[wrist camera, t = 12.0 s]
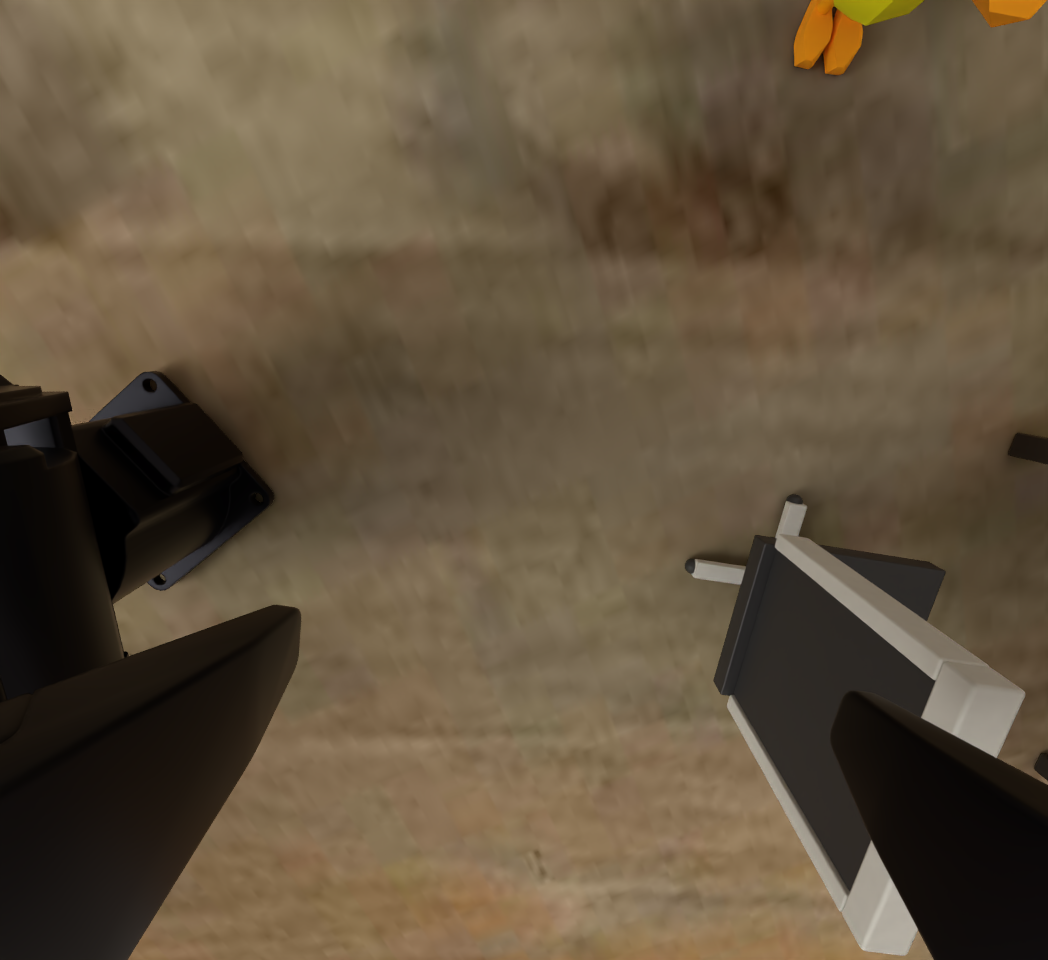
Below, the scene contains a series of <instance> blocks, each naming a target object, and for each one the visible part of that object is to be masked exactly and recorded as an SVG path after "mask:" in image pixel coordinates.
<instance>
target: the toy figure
mask: <svg viewBox="0 0 1048 960" xmlns="http://www.w3.org/2000/svg"><path fill="white" fill-rule="evenodd" d="M923 1H924V0H811V2H810V4H809V6H808V8H807V11H806V13H805V15H804V18H803V20H802V22H801V24H800V27H799V29H798V31H797V34H796V38H795V42H794V66H795V67H800V68H804V69H809V68H811V67H812V66H813V65H814V63H815V62H816V60H817V59H818V58H819V56H820V55H821V53H822V52H823V56H824V66H825V74H833V75H840V74H843V73H844V72H845V70H846V69H847V67H848V66H849V64H850V62H851V61H852V59H853V58H854V56H855V54H856V53H857V51H858V50H859V48H860V46H861V42H862V35H863V29H862V24H863V25H866V26H867V25H870V24H874V23H878V22H881V21H885V20H888V19H892V18H895V17H899V16H902V15H906V14H909V13H910V12H911V11H912V10H913V9H915V8H916V7H917V6H918V5H919V4H921V3H922V2H923ZM972 1H973V3H974V4H975V5H976V7H977V8H978V10H979V11H980V13H981V14H982V15H983V17H984V18H985V20H986V21H987V23H988V24H989V25H990V27H997V26H1001V25H1006V24H1010V23H1015V22H1019V21H1023V20H1028V19H1030V18H1031V17H1032V16H1033V15H1034V14H1035V13H1036V12H1037V11H1038V10H1039V8H1040V7H1041V6H1042V5H1043V4H1044V3H1045V2H1046V1H1047V0H972ZM833 7H836V8H837V11H836V13H835V16H834V19H833V21H832V8H833ZM823 50H824V51H823Z"/></svg>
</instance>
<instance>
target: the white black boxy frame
mask: <svg viewBox="0 0 1048 960" xmlns="http://www.w3.org/2000/svg"><path fill="white" fill-rule="evenodd" d="M806 509H807V506H806V505H804V504H803V500H802V498H801V497H800V496H799V495H796V494H792V495H790V496H788V497H787V499H786V503H785V507H784V510H783V513H782V517H781V520H780V523H779V527H778V530H777V533H776V537H775V538H773V537H766V536H760V535H755V537H754V541H753V544H752V548H751V551H750V555H749V558H748V562H747V565H746V566H739V565H733V564H726V563H720V562H713V561H706V560H700V559H689V560H687V561H686V563H685V569H686V570H687V571H688V572H689V573H691V574H692V576H693V577H694V578H698V579H705V580H712V581H718V582H725V583H731V584H738V585H741V586H740V590H739V593H738V596H737V600H736V603H735V607H734V610H733V614H732V617H731V621H730V624H729V628H728V631H727V635H726V638H725V642H724V645H723V649H722V652H721V656H720V659H719V663H718V666H717V670H716V673H715V677H714V683H715V685H716V687H717V688H718V690H719V692H720V694H722V695H728V696H730V697H729V701H728V704H727V708H728V709H729V711H730V713H731V715H732V717H733V719H734V720H735V722H736V724H737V726H738V728H739V729H740V731H741V733H742V735H743V737H744V739H745V740H746V742H747V744H748V746H749V748H750V749H751V751H752V753H753V755H754V757H755V759H756V760H757V762H758V764H759V766H760V768H761V769H762V771H763V773H764V775H765V777H766V779H767V780H768V782H769V784H770V786H771V788H772V789H773V791H774V793H775V795H776V797H777V799H778V800H779V802H780V804H781V806H782V808H783V809H784V811H785V813H786V815H787V817H788V818H789V820H790V822H791V824H792V826H793V828H794V829H795V831H796V833H797V835H798V837H799V838H800V840H801V842H802V844H803V846H804V848H805V849H806V851H807V853H808V855H809V857H810V858H811V860H812V862H813V864H814V866H815V868H816V869H817V871H818V873H819V875H820V877H821V878H822V880H823V882H824V884H825V886H826V888H827V889H828V891H829V893H830V895H831V897H832V898H833V900H834V902H835V904H836V906H837V908H838V909H839V911H841V912H842V914H843V917H844V919H845V921H846V922H847V924H848V926H849V928H850V930H851V932H852V933H853V935H854V937H855V939H856V941H857V942H858V944H859V946H860V948H861V949H862V950H864V951H869V952H877V953H885V954H893V955H901V956H904V955H906V954H907V953H908V951H909V949H910V947H911V944H912V942H913V940H914V938H915V936H916V933H917V931H918V929H917V927H916V925H915V923H914V921H913V919H912V917H911V915H910V914H909V912H908V910H907V908H906V906H905V904H904V902H903V900H902V898H901V897H900V895H899V893H898V891H897V889H896V887H895V885H894V883H893V881H892V879H891V878H890V876H889V874H888V872H887V870H886V868H885V866H884V864H883V862H882V861H881V859H880V857H879V855H878V853H877V851H876V849H875V847H874V845H873V843H872V841H871V838H870V836H869V834H868V832H867V830H866V827H865V825H864V823H863V820H862V818H861V816H860V813H859V811H858V809H857V806H856V804H855V802H854V799H853V797H852V795H851V792H850V790H849V787H848V785H847V783H846V780H845V778H844V776H843V773H842V771H841V769H840V766H839V764H838V762H837V759H836V757H835V754H834V752H833V750H832V747H831V743H830V731H831V728H832V725H833V722H834V720H835V717H836V714H837V711H838V708H839V706H840V703H841V700H842V698H843V696H844V694H845V693H846V692H848V691H850V690H857V691H864V692H871V693H875V694H877V695H879V696H881V697H883V698H885V699H887V700H889V701H891V702H892V703H894V704H896V705H898V706H900V707H902V708H904V709H906V710H907V711H909V712H911V713H913V714H915V715H917V716H919V717H921V718H923V719H924V720H926V721H928V722H930V723H932V724H934V725H936V726H938V727H939V728H941V729H943V730H945V731H947V732H949V733H951V734H953V735H954V736H956V737H958V738H960V739H962V740H964V741H966V742H968V743H969V744H971V745H973V746H975V747H977V748H979V749H981V750H983V751H985V752H986V753H988V754H990V755H992V756H994V757H996V758H997V756H998V754H999V752H1000V750H1001V748H1002V745H1003V743H1004V741H1005V739H1006V737H1007V734H1008V732H1009V730H1010V728H1011V726H1012V724H1013V721H1014V719H1015V717H1016V715H1017V713H1018V710H1019V708H1020V706H1021V704H1022V702H1023V700H1024V697H1025V692H1024V690H1022V689H1021V688H1019V687H1018V686H1017V685H1015V684H1014V683H1012V682H1011V681H1009V680H1008V679H1007V678H1005V677H1004V676H1002V675H1001V674H999V673H998V672H997V671H995V670H994V669H992V668H989V665H988V664H986V663H985V662H983V661H982V660H981V659H979V658H978V657H976V656H975V655H973V654H972V653H971V652H969V651H968V650H966V649H965V648H964V647H962V646H961V645H959V644H958V643H956V642H955V641H954V640H952V639H951V638H949V637H948V636H946V635H945V634H944V633H942V632H941V631H939V630H938V629H937V628H935V627H934V626H932V625H931V624H929V623H928V622H927V619H928V617H929V614H930V611H931V609H932V606H933V604H934V601H935V599H936V596H937V593H938V591H939V588H940V586H941V583H942V581H943V578H944V575H945V573H946V572H945V571H944V570H943V569H941V568H939V567H937V566H935V565H933V564H932V563H930V562H927V561H920V560H914V559H907V558H901V557H895V556H888V555H882V554H875V553H869V552H862V551H856V550H850V549H843V548H837V547H830V546H824V545H818V544H816V543H814V542H813V541H811V540H810V539H809V538H805V537H799V536H798V535H799V532H800V529H801V526H802V522H803V519H804V516H805V513H806Z"/></svg>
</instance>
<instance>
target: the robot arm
mask: <svg viewBox="0 0 1048 960" xmlns="http://www.w3.org/2000/svg"><path fill="white" fill-rule="evenodd" d="M151 380H154V381H155V382H156V384H157V389H156V391H155V390H153V389H152V388H151V386H150V381H151ZM70 411H72V407H71V402H70V398H69V394H68V392H42V389H41V386H19V385H13V384H12V383H10V382H9V381H8V380H7V379H5V378H4V377H3V376H2V375H0V960H128V958H129V957H130V955H131V953H132V952H133V950H134V948H135V947H136V945H137V944H138V942H139V940H140V939H141V937H142V936H143V934H144V932H145V931H146V929H147V927H148V926H149V924H150V923H151V921H152V919H153V918H154V916H155V915H156V913H157V911H158V910H159V908H160V906H161V905H162V903H163V902H164V900H165V898H166V897H167V895H168V894H169V892H170V890H171V889H172V887H173V885H174V884H175V882H176V881H177V879H178V877H179V876H180V874H181V873H182V871H183V869H184V868H185V866H186V864H187V863H188V861H189V860H190V858H191V856H192V855H193V853H194V852H195V850H196V848H197V847H198V845H199V844H200V842H201V840H202V839H203V837H204V835H205V834H206V832H207V831H208V829H209V827H210V826H211V824H212V823H213V821H214V819H215V818H216V816H217V814H218V813H219V811H220V810H221V808H222V806H223V805H224V803H225V802H226V800H227V798H228V797H229V795H230V793H231V792H232V790H233V789H234V787H235V785H236V784H237V782H238V781H239V779H240V777H241V776H242V774H243V772H244V771H245V769H246V767H247V766H248V764H249V762H250V761H251V759H252V757H253V755H254V753H255V751H256V749H257V747H258V745H259V743H260V741H261V739H262V737H263V735H264V733H265V731H266V729H267V727H268V725H269V723H270V721H271V718H272V716H273V714H274V712H275V710H276V708H277V706H278V704H279V702H280V700H281V697H282V695H283V693H284V691H285V689H286V687H287V685H288V683H289V681H290V679H291V677H292V674H293V672H294V670H295V668H296V665H297V661H298V656H299V644H300V629H301V613H300V611H299V609H298V608H295V607H288V606H281V605H271V606H268V607H265V608H263V609H260V610H257V611H254V612H252V613H249V614H246V615H243V616H240V617H238V618H235V619H232V620H229V621H226V622H224V623H221V624H218V625H215V626H212V627H210V628H207V629H204V630H201V631H198V632H196V633H193V634H190V635H187V636H185V637H182V638H179V639H176V640H173V641H171V642H168V643H165V644H162V645H159V646H157V647H154V648H151V649H148V650H145V651H143V652H140V653H137V654H134V655H131V656H129V655H128V653H127V652H124V651H123V646H122V642H121V638H120V633H119V629H118V625H117V621H116V616H115V612H114V608H113V604H114V603H115V602H117V601H118V600H120V599H122V598H123V597H125V596H126V595H128V594H129V593H131V592H132V591H134V590H135V589H137V588H139V587H140V586H142V585H143V584H145V583H146V582H147V583H148V584H149V585H150V586H151V587H153V588H154V589H156V590H160V591H161V590H166V589H168V588H170V587H171V586H173V585H174V584H175V583H177V582H178V581H179V580H180V579H182V578H183V577H184V576H185V575H186V574H188V573H189V572H190V571H191V570H193V569H194V568H195V567H196V566H197V565H199V564H200V563H201V562H202V561H204V560H205V559H206V558H207V557H208V556H210V555H211V554H212V553H213V552H215V551H216V550H217V549H218V548H219V547H221V546H222V545H223V544H224V543H225V542H227V541H228V540H229V539H230V538H232V537H233V536H234V535H235V534H236V533H238V532H239V531H240V530H241V529H243V528H244V527H245V526H246V525H247V524H249V523H250V522H251V521H252V520H254V519H255V518H256V517H257V516H258V515H260V514H261V513H262V512H263V511H265V510H266V509H267V508H268V507H269V506H271V504H272V503H273V501H274V493H273V491H272V490H271V488H270V487H269V486H268V485H267V484H266V483H265V482H264V481H263V480H262V479H261V478H260V477H259V475H258V474H257V473H256V472H255V471H254V470H253V469H252V468H251V467H250V466H249V465H248V464H247V463H246V461H245V460H244V459H243V456H242V452H241V451H240V450H239V449H238V448H237V447H236V446H235V445H234V444H233V442H232V441H231V440H230V439H229V438H228V437H227V436H226V435H225V434H224V433H223V432H222V431H221V430H220V428H219V427H218V426H217V425H216V424H215V423H214V422H213V421H212V420H211V419H210V418H209V417H208V416H207V414H206V413H205V412H204V411H203V410H202V409H201V408H200V407H199V406H198V405H197V404H194V403H191V402H190V401H189V400H188V399H187V398H186V397H185V396H184V395H183V394H182V393H181V392H180V391H179V390H178V388H177V387H176V386H175V385H174V384H173V383H172V382H171V381H170V380H169V379H168V378H167V377H166V376H165V375H164V374H163V373H161V372H157V371H152V372H143V373H142V374H140V375H139V376H138V377H136V378H135V379H134V380H133V381H132V382H131V383H130V384H129V385H128V386H127V387H126V388H125V389H123V390H122V391H121V392H120V393H119V394H118V395H117V396H116V397H115V398H114V399H113V400H111V401H110V402H109V403H108V404H107V405H106V406H105V407H104V408H103V409H102V410H101V411H100V412H98V413H97V414H96V415H95V416H94V417H93V418H92V419H91V420H90V421H89V422H86V423H81V424H75V425H71V422H70V418H69V413H68V412H70ZM255 493H259V494H261V495H262V497H263V502H259V501H258V500H257V499H256V497H255ZM160 574H162V575H164V576H165V578H166V581H165V580H163V579H161V577H160ZM830 743H831V747H832V750H833V752H834V754H835V757H836V759H837V762H838V764H839V766H840V769H841V771H842V773H843V776H844V778H845V780H846V783H847V785H848V787H849V790H850V792H851V795H852V797H853V799H854V802H855V804H856V806H857V809H858V811H859V813H860V816H861V818H862V820H863V823H864V825H865V827H866V830H867V832H868V834H869V836H870V838H871V841H872V843H873V845H874V847H875V849H876V851H877V853H878V855H879V857H880V859H881V861H882V862H883V864H884V866H885V868H886V870H887V872H888V874H889V876H890V878H891V879H892V881H893V883H894V885H895V887H896V889H897V891H898V893H899V895H900V897H901V898H902V900H903V902H904V904H905V906H906V908H907V910H908V912H909V914H910V915H911V917H912V919H913V921H914V923H915V925H916V927H917V929H918V931H919V933H920V934H921V936H922V938H923V940H924V942H925V944H926V946H927V948H928V950H929V951H930V953H931V955H932V957H933V959H934V960H1048V785H1047V784H1045V783H1043V782H1041V781H1039V780H1037V779H1035V778H1033V777H1032V776H1030V775H1028V774H1026V773H1024V772H1022V771H1020V770H1018V769H1016V768H1015V767H1013V766H1011V765H1009V764H1007V763H1005V762H1003V761H1001V760H1000V759H998V758H996V757H994V756H992V755H990V754H988V753H986V752H985V751H983V750H981V749H979V748H977V747H975V746H973V745H971V744H969V743H968V742H966V741H964V740H962V739H960V738H958V737H956V736H954V735H953V734H951V733H949V732H947V731H945V730H943V729H941V728H939V727H938V726H936V725H934V724H932V723H930V722H928V721H926V720H924V719H923V718H921V717H919V716H917V715H915V714H913V713H911V712H909V711H907V710H906V709H904V708H902V707H900V706H898V705H896V704H894V703H892V702H891V701H889V700H887V699H885V698H883V697H881V696H879V695H877V694H875V693H871V692H864V691H857V690H850V691H848V692H846V693H845V694H844V696H843V698H842V700H841V703H840V706H839V708H838V711H837V714H836V717H835V720H834V722H833V725H832V728H831V731H830Z"/></svg>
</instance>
